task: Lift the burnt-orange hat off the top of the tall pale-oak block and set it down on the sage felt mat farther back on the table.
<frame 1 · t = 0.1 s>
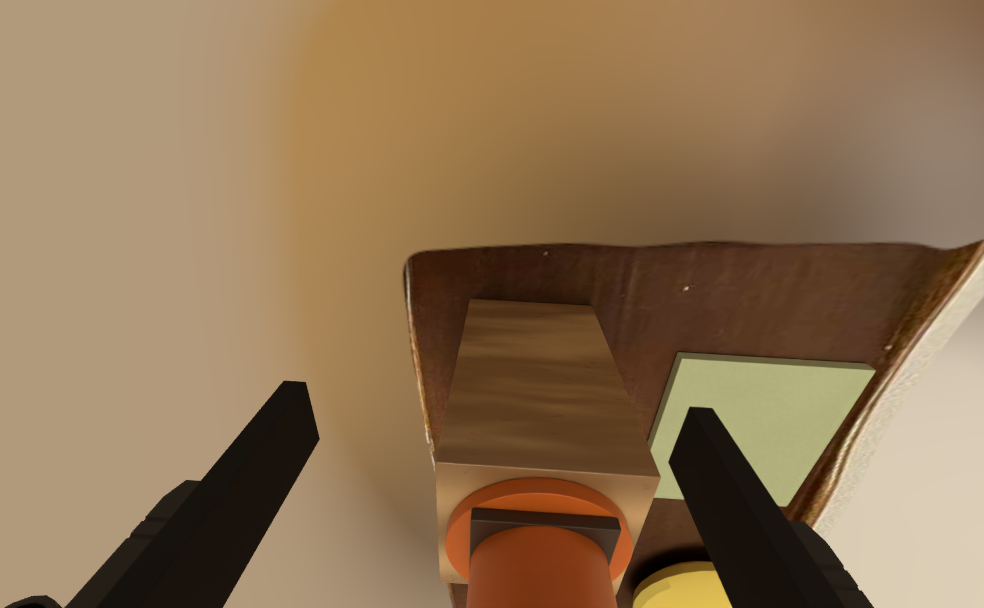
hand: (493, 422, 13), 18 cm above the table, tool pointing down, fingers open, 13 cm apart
hat: (536, 536, 19), point 16 cm above the table, touching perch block
mat: (734, 433, 36), on the table
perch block: (525, 352, 33), on the table
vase: (688, 577, 49), on the table
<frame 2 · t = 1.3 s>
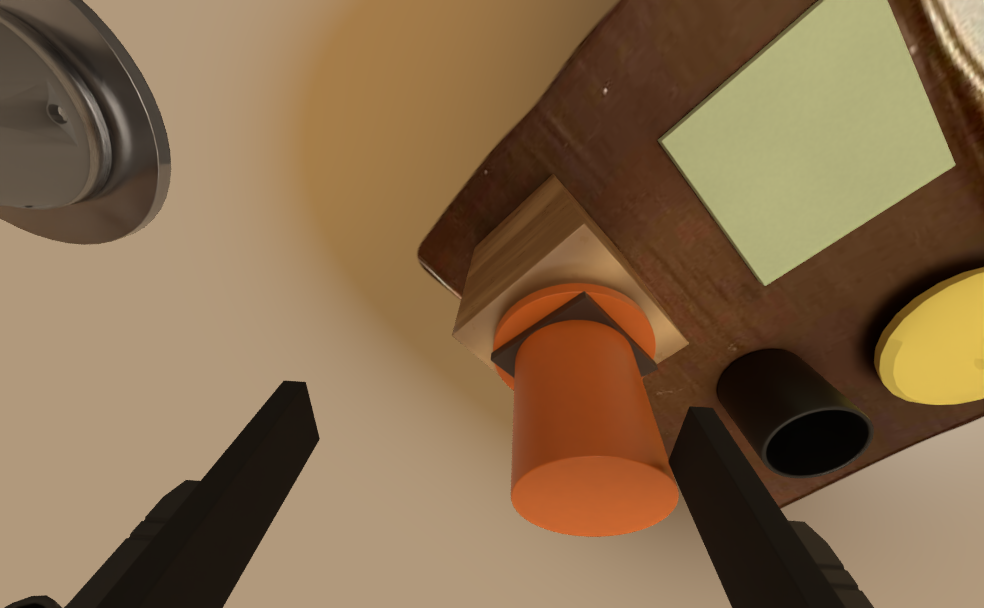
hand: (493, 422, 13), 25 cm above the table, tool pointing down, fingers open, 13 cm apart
hat: (570, 347, 22), point 17 cm above the table, tilted 9°, touching gripper, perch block
mug: (761, 388, 43), on the table
mat: (800, 151, 31), on the table
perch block: (546, 249, 36), on the table
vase: (940, 324, 39), on the table
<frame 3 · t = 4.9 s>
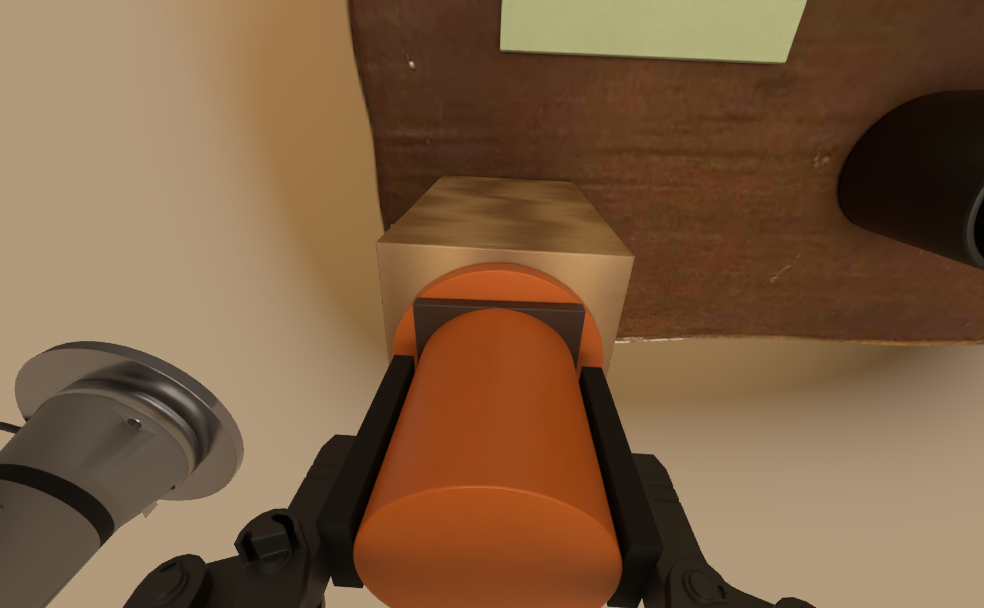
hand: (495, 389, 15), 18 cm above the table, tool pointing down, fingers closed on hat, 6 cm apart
hat: (497, 356, 17), point 16 cm above the table, touching gripper
mug: (922, 170, 27), on the table
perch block: (504, 241, 31), on the table
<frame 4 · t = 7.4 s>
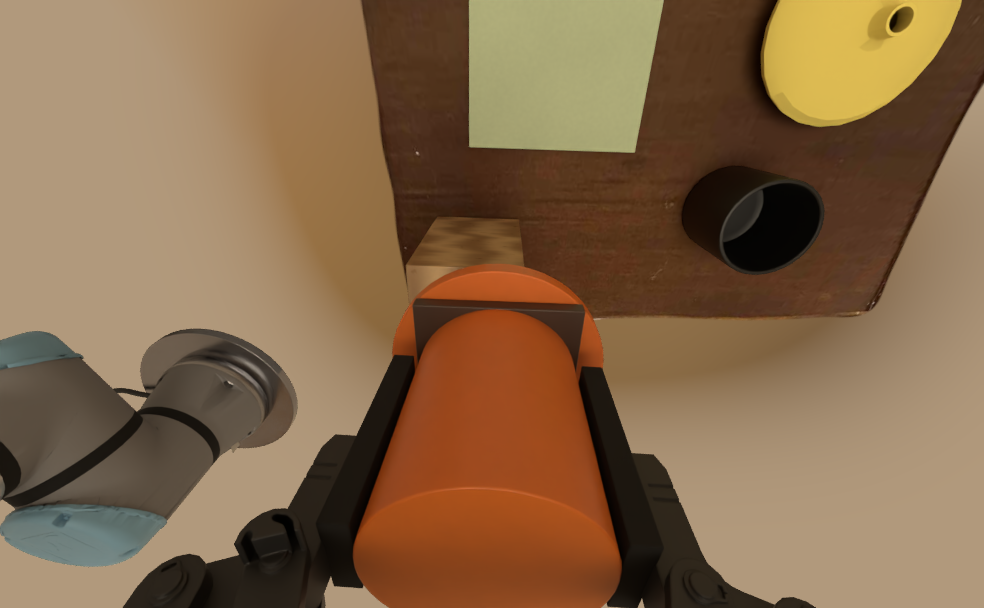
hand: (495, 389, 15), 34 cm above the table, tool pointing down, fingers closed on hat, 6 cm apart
hat: (497, 357, 17), point 31 cm above the table, touching gripper
mug: (732, 209, 44), on the table
mat: (558, 63, 38), on the table
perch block: (477, 256, 48), on the table
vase: (831, 35, 36), on the table
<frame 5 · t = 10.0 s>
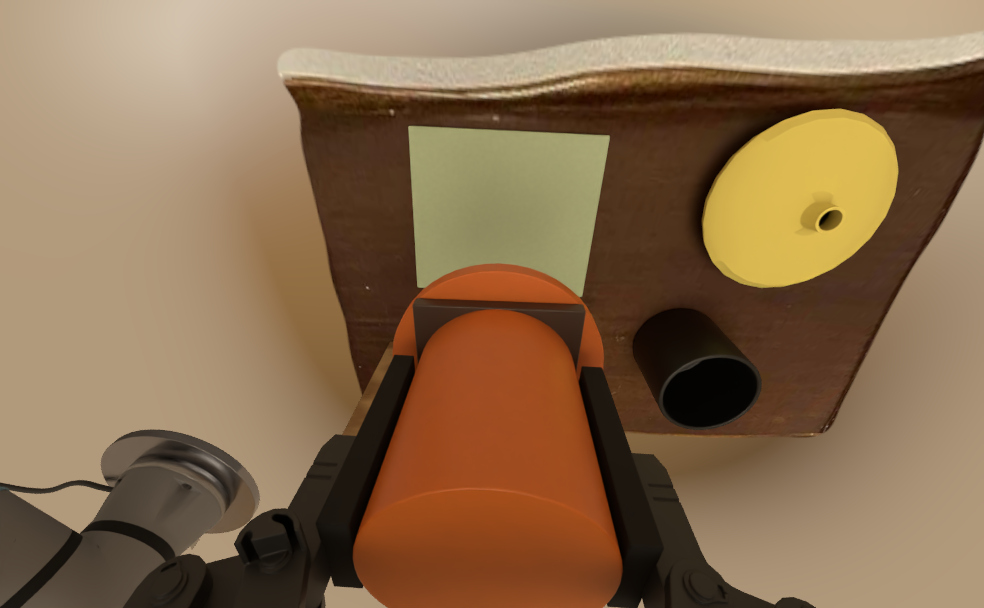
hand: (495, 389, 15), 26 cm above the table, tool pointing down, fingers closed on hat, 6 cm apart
hat: (497, 357, 17), point 24 cm above the table, touching gripper
mug: (682, 344, 44), on the table
mat: (503, 217, 38), on the table
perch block: (432, 376, 48), on the table
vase: (773, 200, 36), on the table
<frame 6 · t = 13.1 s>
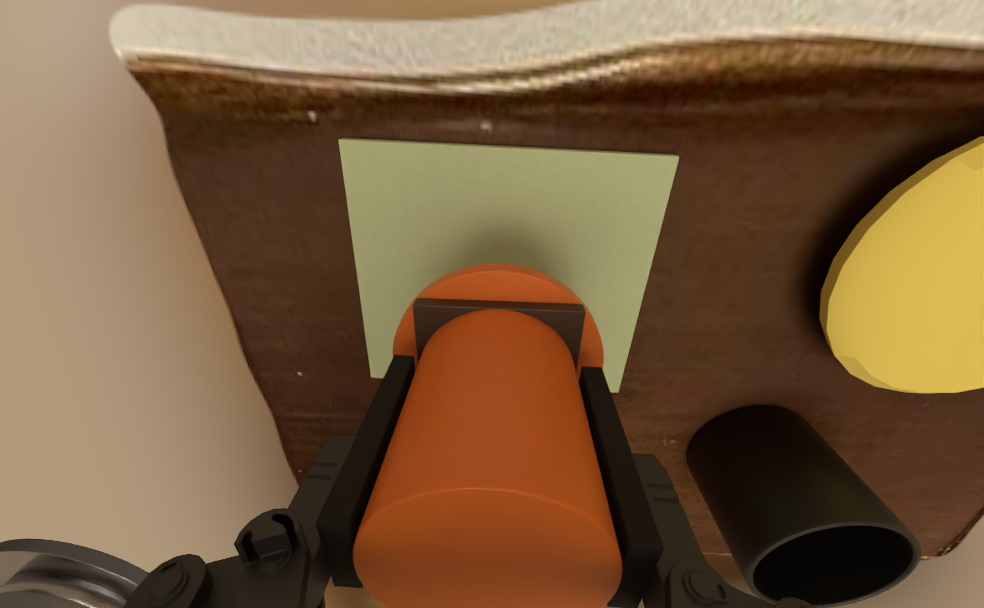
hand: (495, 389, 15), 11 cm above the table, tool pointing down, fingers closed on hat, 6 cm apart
hat: (497, 356, 17), point 9 cm above the table, touching gripper
mug: (759, 449, 31), on the table
mat: (500, 279, 24), on the table
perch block: (400, 483, 34), on the table
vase: (932, 256, 23), on the table
when the fingers open (3 cm above the table, at t = 15.1 s): hat stays where it is, resting on mat.
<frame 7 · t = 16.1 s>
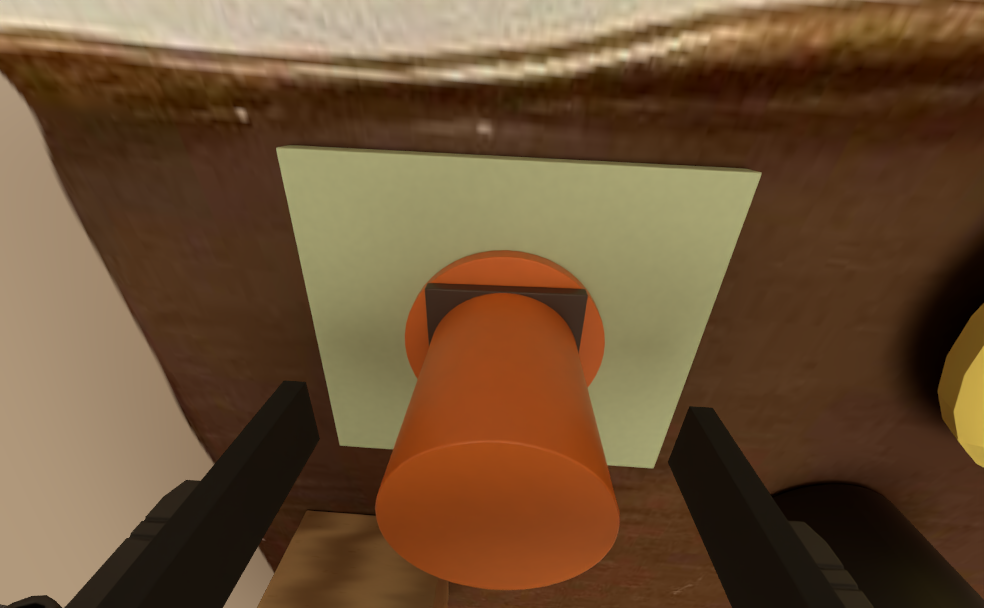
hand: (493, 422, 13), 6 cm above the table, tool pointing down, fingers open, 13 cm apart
hat: (503, 340, 18), point 1 cm above the table, touching mat
mug: (824, 528, 25), on the table
mat: (503, 329, 18), on the table
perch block: (383, 555, 29), on the table
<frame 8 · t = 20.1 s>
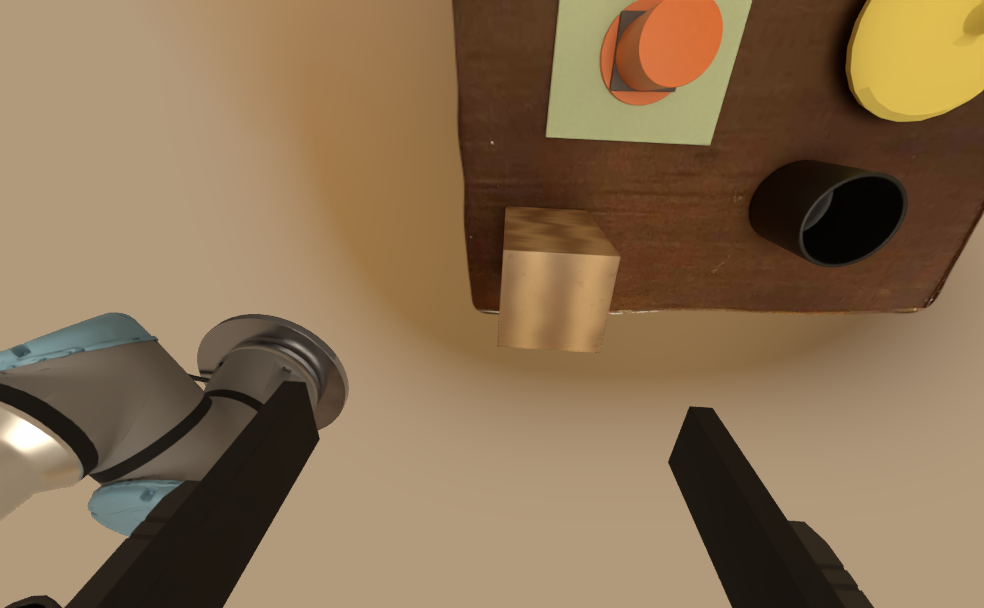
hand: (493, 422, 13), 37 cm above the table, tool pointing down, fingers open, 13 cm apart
hat: (645, 54, 37), point 1 cm above the table, touching mat
mug: (799, 204, 45), on the table
mat: (641, 55, 38), on the table
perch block: (541, 246, 48), on the table
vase: (915, 31, 37), on the table
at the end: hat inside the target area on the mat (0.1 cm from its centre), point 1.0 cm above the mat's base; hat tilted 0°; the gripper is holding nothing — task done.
